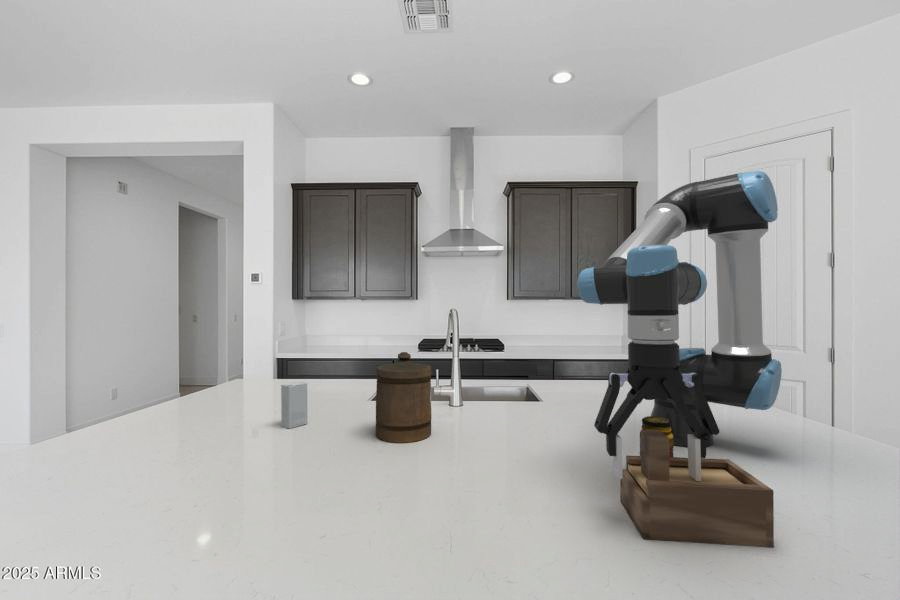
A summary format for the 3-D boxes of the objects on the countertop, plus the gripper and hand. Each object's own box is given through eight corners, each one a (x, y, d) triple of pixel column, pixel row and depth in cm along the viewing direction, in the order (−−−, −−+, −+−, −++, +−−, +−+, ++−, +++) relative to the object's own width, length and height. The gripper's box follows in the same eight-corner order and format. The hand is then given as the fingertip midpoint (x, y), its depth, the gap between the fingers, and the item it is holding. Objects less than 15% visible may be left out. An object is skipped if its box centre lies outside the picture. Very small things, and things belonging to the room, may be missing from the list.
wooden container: (441, 431, 116) (441, 351, 116) (408, 447, 103) (408, 357, 103) (399, 423, 123) (399, 348, 124) (363, 437, 111) (363, 353, 111)
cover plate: (628, 469, 74) (627, 424, 74) (722, 473, 72) (721, 427, 72) (648, 496, 64) (648, 443, 64) (758, 502, 62) (758, 447, 62)
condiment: (679, 488, 80) (678, 425, 80) (630, 483, 83) (630, 421, 83) (671, 473, 87) (671, 415, 87) (626, 469, 89) (626, 412, 90)
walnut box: (620, 501, 75) (620, 455, 75) (728, 506, 73) (728, 459, 73) (643, 539, 63) (642, 484, 63) (773, 547, 61) (773, 490, 61)
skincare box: (299, 421, 125) (299, 380, 125) (308, 424, 122) (308, 382, 122) (280, 426, 120) (280, 384, 120) (288, 429, 117) (288, 386, 117)
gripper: (583, 344, 66) (585, 484, 66) (744, 343, 63) (747, 489, 63) (574, 339, 74) (576, 465, 73) (718, 339, 71) (721, 469, 71)
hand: (655, 476), depth 68 cm, fingers open, 11 cm apart
